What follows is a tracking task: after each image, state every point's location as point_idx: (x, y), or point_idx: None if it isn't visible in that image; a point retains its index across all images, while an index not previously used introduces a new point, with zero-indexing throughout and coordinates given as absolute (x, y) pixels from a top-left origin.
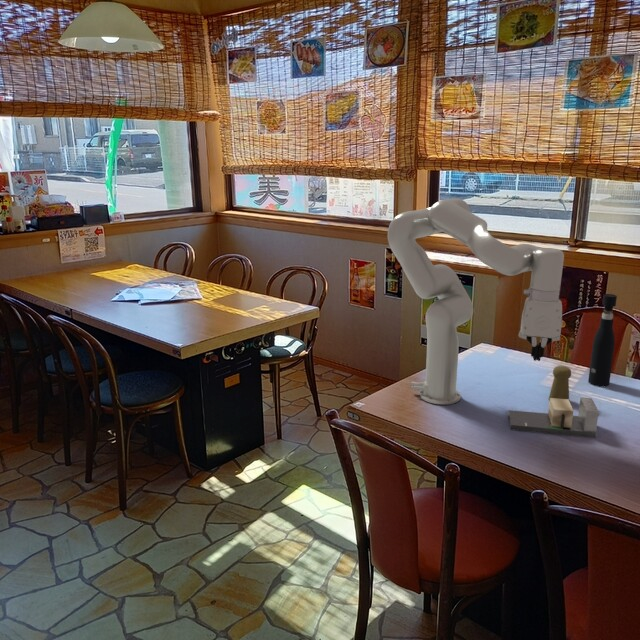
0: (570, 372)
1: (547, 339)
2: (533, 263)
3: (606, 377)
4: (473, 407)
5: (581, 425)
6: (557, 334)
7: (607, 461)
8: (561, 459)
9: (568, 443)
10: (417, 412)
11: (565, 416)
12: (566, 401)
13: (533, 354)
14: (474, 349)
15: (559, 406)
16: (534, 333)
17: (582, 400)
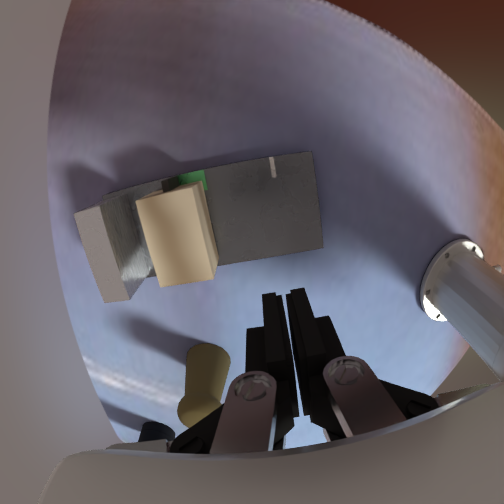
0: (177, 411)
1: (212, 446)
2: None
3: (142, 435)
4: (397, 255)
5: (134, 223)
6: (63, 481)
7: (87, 89)
8: (176, 45)
9: (161, 131)
10: (485, 187)
11: (161, 192)
12: (163, 268)
13: (318, 324)
14: None
15: (177, 219)
16: (440, 456)
17: (120, 278)
